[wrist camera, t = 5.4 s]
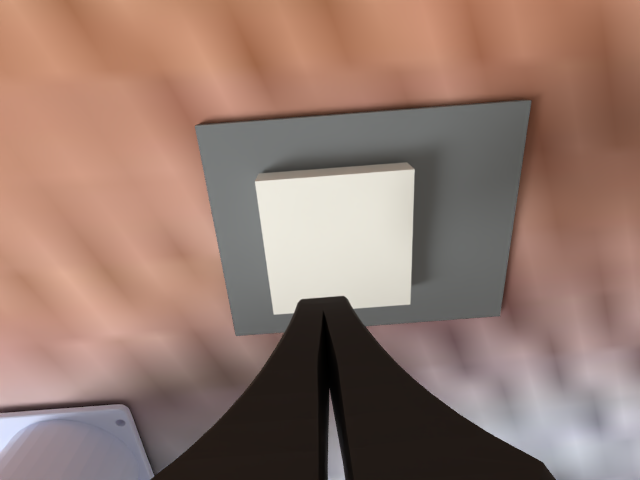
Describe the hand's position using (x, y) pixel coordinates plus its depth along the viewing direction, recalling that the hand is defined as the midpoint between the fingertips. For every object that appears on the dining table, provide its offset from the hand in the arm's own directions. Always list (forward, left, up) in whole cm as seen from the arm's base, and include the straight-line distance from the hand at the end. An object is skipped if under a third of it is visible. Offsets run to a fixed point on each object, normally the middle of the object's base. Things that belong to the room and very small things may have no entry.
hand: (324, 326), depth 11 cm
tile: (0, +2, -6) cm, 6 cm away
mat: (0, -2, -7) cm, 7 cm away
